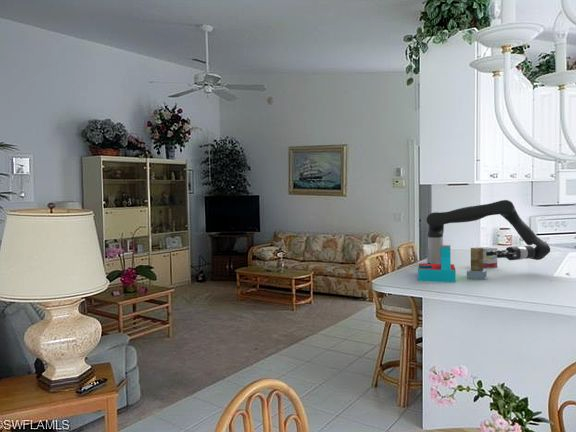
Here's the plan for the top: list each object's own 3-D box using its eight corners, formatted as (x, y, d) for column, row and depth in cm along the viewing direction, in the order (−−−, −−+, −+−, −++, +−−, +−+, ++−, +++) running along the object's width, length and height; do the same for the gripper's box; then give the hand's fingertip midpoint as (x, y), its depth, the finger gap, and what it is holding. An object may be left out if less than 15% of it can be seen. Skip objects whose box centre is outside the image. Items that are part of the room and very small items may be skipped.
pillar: (476, 271, 254) (476, 248, 253) (470, 269, 258) (470, 247, 257) (483, 270, 255) (483, 248, 254) (477, 269, 259) (477, 247, 258)
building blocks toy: (453, 274, 270) (453, 242, 269) (455, 282, 246) (455, 247, 245) (419, 273, 275) (419, 241, 274) (418, 281, 251) (417, 247, 250)
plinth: (466, 278, 255) (466, 271, 255) (469, 275, 263) (469, 268, 262) (484, 279, 251) (484, 272, 250) (486, 276, 258) (486, 269, 258)
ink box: (497, 267, 289) (498, 247, 288) (487, 268, 286) (487, 248, 285) (487, 265, 297) (487, 246, 296) (476, 266, 294) (476, 247, 293)
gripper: (507, 245, 270) (483, 246, 265) (526, 247, 256) (501, 249, 251) (507, 258, 270) (483, 260, 266) (526, 261, 256) (501, 263, 252)
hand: (491, 254), depth 258 cm, fingers open, 8 cm apart
